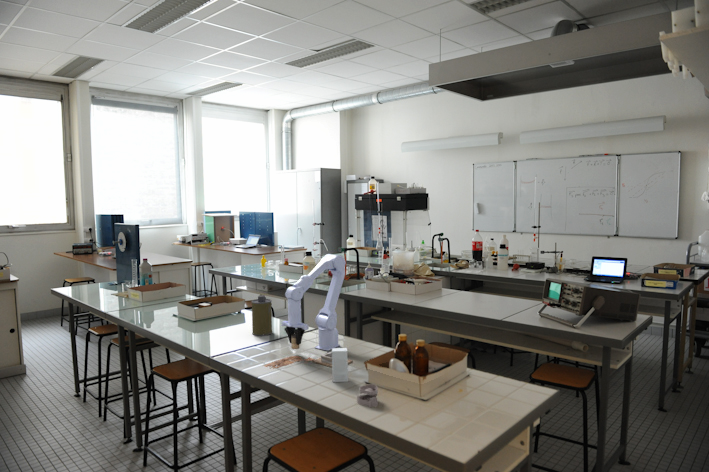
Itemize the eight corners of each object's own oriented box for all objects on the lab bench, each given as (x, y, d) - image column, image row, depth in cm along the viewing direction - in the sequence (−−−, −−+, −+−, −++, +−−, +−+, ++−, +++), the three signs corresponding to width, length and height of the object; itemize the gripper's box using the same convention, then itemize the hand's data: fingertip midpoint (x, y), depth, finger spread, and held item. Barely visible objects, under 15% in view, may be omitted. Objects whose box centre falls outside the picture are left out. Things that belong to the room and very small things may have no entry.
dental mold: (385, 402, 160) (385, 388, 159) (372, 409, 154) (372, 394, 154) (367, 396, 165) (367, 382, 165) (354, 402, 160) (354, 388, 159)
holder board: (327, 356, 209) (327, 349, 208) (352, 361, 201) (352, 354, 200) (312, 362, 201) (312, 355, 200) (338, 368, 192) (338, 361, 192)
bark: (297, 354, 212) (297, 353, 212) (315, 359, 204) (315, 358, 204) (258, 368, 196) (258, 366, 195) (276, 374, 188) (276, 373, 188)
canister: (270, 336, 242) (269, 297, 240) (250, 336, 242) (249, 297, 241) (274, 330, 253) (273, 293, 251) (255, 330, 253) (254, 293, 251)
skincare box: (347, 377, 182) (347, 347, 181) (348, 381, 178) (347, 351, 177) (332, 378, 182) (331, 347, 181) (332, 382, 178) (331, 351, 177)
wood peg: (295, 346, 213) (294, 333, 213) (301, 347, 211) (300, 334, 211) (289, 348, 210) (289, 335, 210) (295, 349, 208) (295, 336, 208)
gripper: (276, 313, 211) (277, 343, 212) (300, 317, 202) (301, 348, 203) (287, 310, 216) (288, 339, 217) (311, 314, 208) (312, 344, 209)
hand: (295, 343), depth 211 cm, fingers closed on wood peg, 3 cm apart
